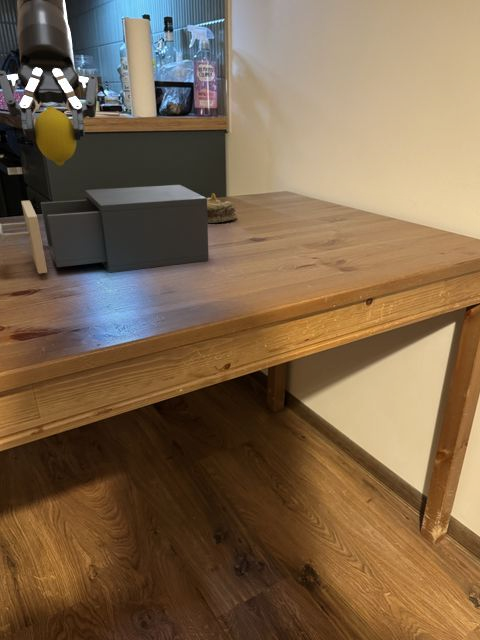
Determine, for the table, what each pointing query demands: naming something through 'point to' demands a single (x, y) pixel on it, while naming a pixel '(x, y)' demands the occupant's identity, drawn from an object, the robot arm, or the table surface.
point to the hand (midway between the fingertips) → (55, 136)
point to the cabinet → (151, 226)
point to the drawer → (63, 233)
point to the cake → (219, 210)
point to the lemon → (55, 135)
